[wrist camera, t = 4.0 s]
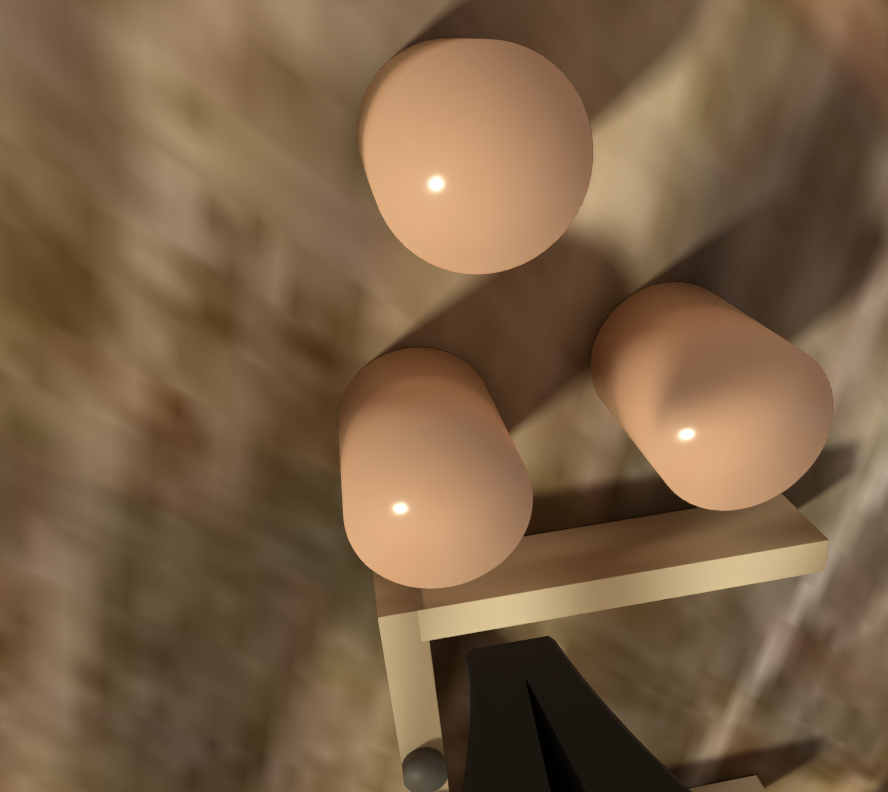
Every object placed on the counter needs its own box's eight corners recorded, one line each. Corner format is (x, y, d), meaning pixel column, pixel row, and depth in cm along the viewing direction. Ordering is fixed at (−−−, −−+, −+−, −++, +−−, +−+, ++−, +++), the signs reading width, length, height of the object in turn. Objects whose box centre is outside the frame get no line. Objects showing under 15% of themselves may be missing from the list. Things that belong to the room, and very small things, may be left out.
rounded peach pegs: (824, 142, 20) (954, 170, 16) (666, 527, 24) (738, 627, 20) (379, 15, 17) (398, 9, 13) (285, 469, 21) (279, 570, 17)
